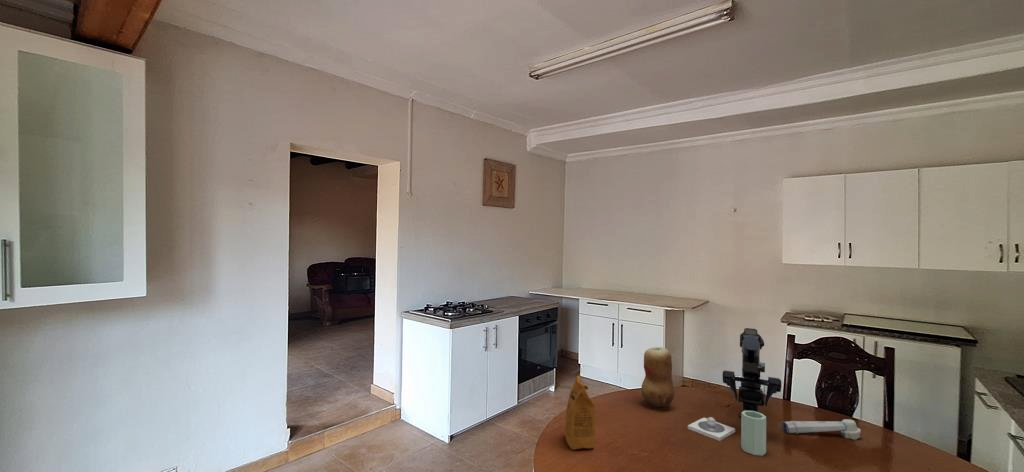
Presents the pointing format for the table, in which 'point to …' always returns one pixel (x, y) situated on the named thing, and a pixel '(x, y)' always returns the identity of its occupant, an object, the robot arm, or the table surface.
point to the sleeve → (753, 432)
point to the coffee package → (580, 418)
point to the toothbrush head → (823, 427)
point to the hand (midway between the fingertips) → (751, 403)
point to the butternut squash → (658, 377)
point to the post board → (711, 428)
